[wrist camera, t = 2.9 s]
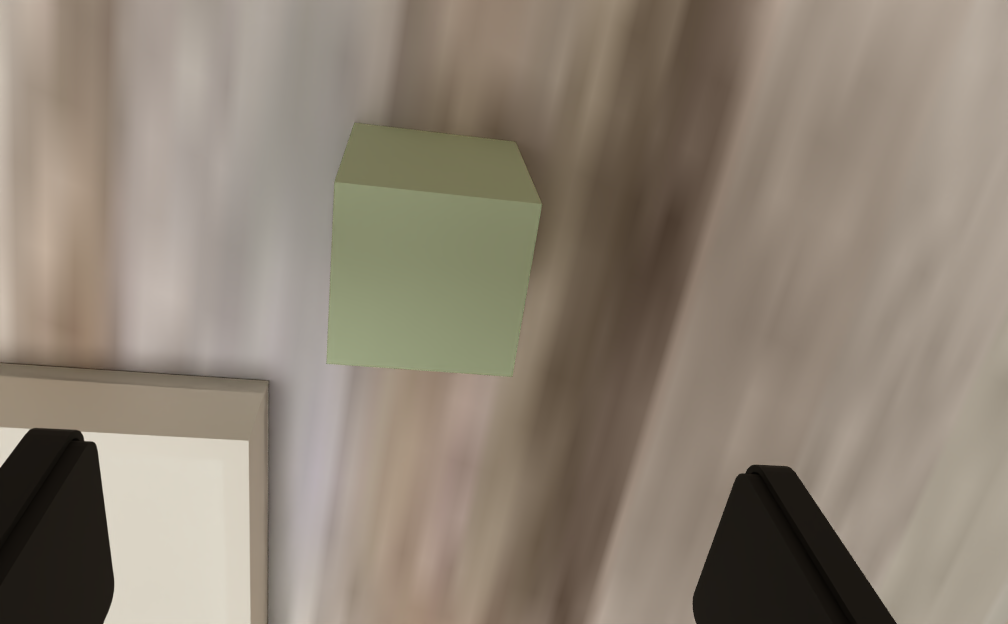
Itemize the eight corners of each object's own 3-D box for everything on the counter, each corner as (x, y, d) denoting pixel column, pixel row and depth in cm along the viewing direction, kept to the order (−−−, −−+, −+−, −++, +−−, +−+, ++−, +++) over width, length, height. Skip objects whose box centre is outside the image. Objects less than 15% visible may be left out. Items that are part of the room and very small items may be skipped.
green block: (515, 141, 24) (542, 203, 18) (493, 284, 26) (512, 376, 21) (354, 122, 23) (334, 181, 18) (346, 271, 25) (326, 363, 20)
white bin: (268, 380, 27) (248, 440, 24) (267, 681, 34) (252, 757, 31) (-242, 346, 24) (-339, 409, 21) (-128, 678, 31) (-189, 761, 28)
